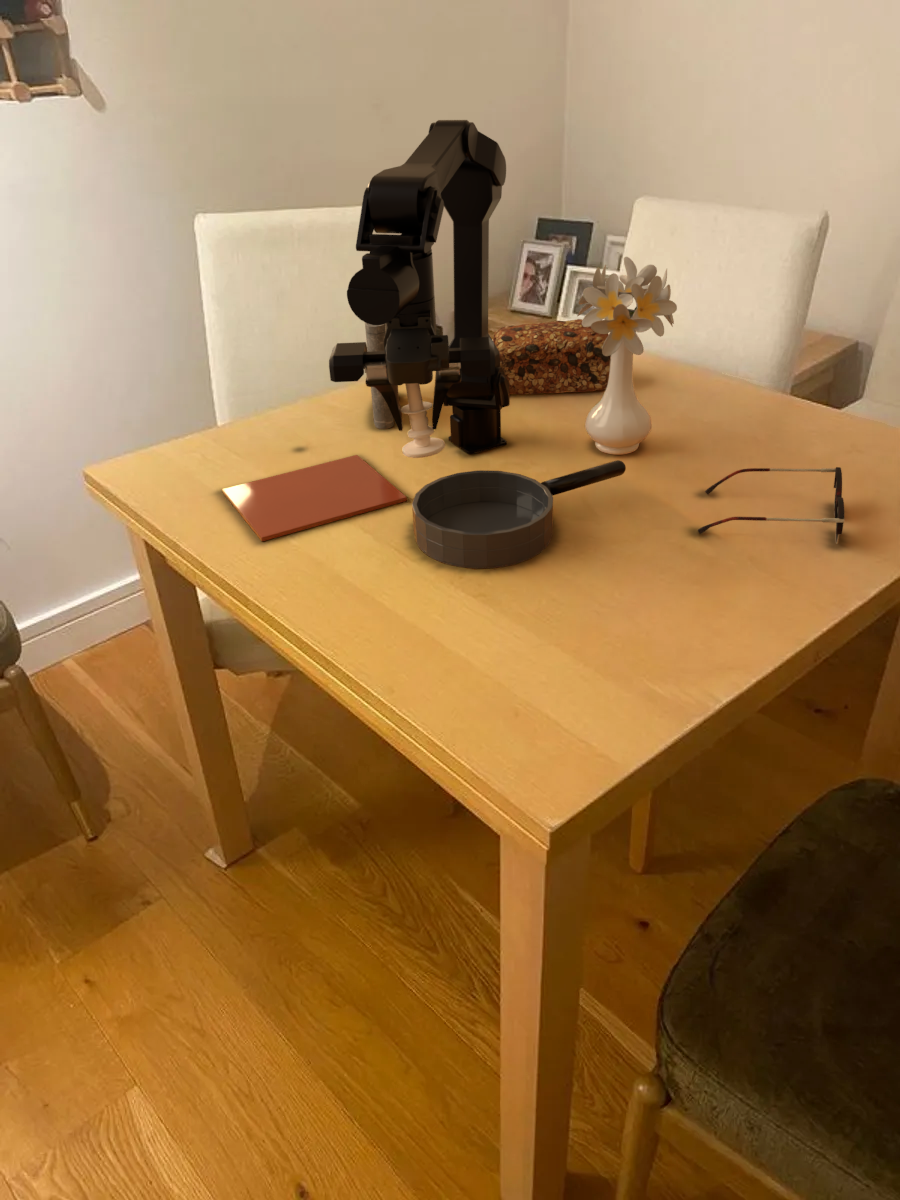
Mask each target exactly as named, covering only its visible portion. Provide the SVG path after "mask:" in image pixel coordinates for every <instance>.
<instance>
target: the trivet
mask: <svg viewBox="0 0 900 1200" xmlns="http://www.w3.org/2000/svg"><path fill="white" fill-rule="evenodd" d="M221 491H222V494H223V495H224V497H225V498H226V499H227V500H228V501H229V503H230V504H231V505H232V506H233V508H234V509H235V510H236V511H237V513H238V514H239V515H240V517H241V518H242V519H243V520H244V521H245V522H246V524H247V525H248V526H249V527H250V528H251V530H252V531H253V533H255V535H256V536H257V537H258V539H259V540H260V541H261V542H265V541H269V540H272V539H276V538H280V537H284V536H287V535H290V534H294V533H297V532H301V531H305V530H308V529H313V528H315V527H318V526H322V525H327V524H330V523H333V522H336V521H341V520H345V519H347V518H351V517H355V516H358V515H361V514H365V513H369V512H372V511H375V510H379V509H383V508H387V507H389V506H394V505H397V504H402V503H404V502H407V501H408V499H407V496H406V495H405V494H404V493H403V492H401V491H400V490H399V489H398V488H397V487H396V486H394V485H393V484H392V483H391V482H390V481H388V479H386V478H385V477H384V476H383V475H381V474H380V473H379V472H378V471H376V469H374V468H373V467H372V466H371V465H369V464H368V463H367V462H366V461H365V460H364V459H362V458H361V457H360V456H359V455H358V454H355V455H351V456H347V457H343V458H339V459H335V460H331V461H327V462H323V463H319V464H316V465H311V466H308V467H305V468H300V469H296V470H291V471H288V472H284V473H280V474H276V475H273V476H268V477H264V478H261V479H257V480H253V481H252V480H251V481H248V482H245V483H242V484H237V485H233V486H229V487H225V488H221Z"/></svg>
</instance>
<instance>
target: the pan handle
mask: <svg viewBox="0 0 900 1200" xmlns="http://www.w3.org/2000/svg"><path fill="white" fill-rule="evenodd" d="M626 471H627V467H626V463H624V462H623V461H622V460H619V459H617V460H614V461H610V462H606V463H603V464H600V465H596V466H592V467H589V468H585V469H582V470H578V471H574V472H572V473H568V474H565V475H561V476H558V477H555V478H551V479H547V480H544V481H541V482H540V483H541V484H543V485H544V486H546V487H547V488H548V490H549V491H550V493H551V494H552V496H553V497H554V496H556V495H560V494H563V493H567V492H570V491H573V490H576V489H580V488H583V487H587V486H590V485H593V484H597V483H600V482H604V481H607V480H610V479H613V478H617V477H620V476H622V475H624V474H625V473H626Z"/></svg>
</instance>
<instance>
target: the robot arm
mask: <svg viewBox="0 0 900 1200" xmlns="http://www.w3.org/2000/svg"><path fill="white" fill-rule="evenodd" d="M506 178H507V161H506V157H505V155H504V153H503V150H502V149H501V147H500V145H499V143H498V142H497V141H495V140H494V139H492V138H491V137H489V136H487V135H486V134H484V133H482V132H481V131H479V130H478V128H477V126H476V124H475V123H474V122H473V121H469V120H468V119H438V120H436V121H435V122H432V123H430V126H429V128H428V134H427V135H426V136H425V137H424V139H423V140H422V141H421V143H419V145H418V146H417V147H416V148H415V150H414V151H413V152H412V154H411V155H410V156H409V157H408V158H407V160H406V161H405V162H404V163H403V164H401V165H398V166H394V167H391V168H390V167H389V168H386V169H383V170H381V171H380V172H378V173H376V174H375V175H373V176H372V177H371V178H370V180H369V182H368V184H367V187H365V188H364V189H365V190H364V192H363V196H362V197H363V198H362V203H361V209H360V216H359V223H358V230H357V236H356V243H355V250H356V252H369V253H365V254H363V255H362V256H361V263H362V268H361V269H359V270H358V271H357V272H355V273H354V274H353V275H352V276H351V278H350V280H349V282H348V286H347V290H346V298H347V302H348V305H349V307H350V309H351V311H352V312H353V314H354V315H355V316H356V317H357V318H358V319H359V320H360V321H361V322H364V324H365V323H368V324H371V325H382V324H385V329H386V334H385V338H384V351H372V352H368V351H367V341H361V342H360V341H358V342H338V343H337V342H336V344H335V345H334V346H333V347H332V350H331V353H330V355H329V358H328V370H329V378H330V381H331V382H333V383H348V382H350V383H351V382H358V381H360V379H362V377H363V376H364V375H365V376H366V377H365V383H364V384H365V386H366V387H368V388H371V387H375V388H376V389H377V390H378V391H379V392H380V393H381V395H382V396H383V398H384V399H385V401H386V403H387V405H388V407H389V409H390V412H391V414H392V416H393V422H394V423H395V425H396V427H397V430H398V431H399V432H402V431H403V429H404V427H403V425H404V423H403V413H402V412H401V411H400V409H401V408H402V406H401V402H400V401H401V400H400V395H398V394H399V388H398V389H397V385H398V386H403V385H406V384H412V383H418V384H419V385H422V386H423V385H428V384H430V383H431V382H432V381H433V379H434V386H433V387H434V389H433V399H432V401H433V402H432V405H433V406H432V413H431V424H432V426H431V427H433V430H434V431H435V430H437V428H438V425H439V420H440V417H441V413H442V409H443V407H451V408H452V414H450V416H449V427H450V435H449V436H448V442H450V443H452V444H453V445H454V446H456V447H457V448H458V449H460V450H462V451H463V452H464V453H466V454H467V455H473V454H477V453H480V452H485V451H488V450H491V449H495V448H500V447H504V446H507V444H508V441H507V440H506V439H505V438H503V437H502V420H501V419H502V414H501V413H502V411H501V410H502V409H503V408H507V407H509V406H510V405H511V404H510V403H511V401H510V400H511V399H510V398H511V397H510V395H511V394H510V391H509V382H508V380H507V378H506V375H505V373H504V371H503V369H502V367H500V353H499V350H498V349H497V347H496V345H495V344H494V342H493V338H492V337H491V335H490V334H489V272H490V271H489V270H490V269H489V268H490V267H489V262H490V261H489V260H490V259H489V255H490V253H489V251H490V250H489V248H490V246H489V245H490V239H489V238H490V219H491V217H492V216H493V214H494V211H495V210H496V208H497V207H498V205H499V203H500V201H501V199H502V195H503V193H502V192H503V186H504V185H505V183H506ZM444 209H445V211H446V213H447V214H448V216H449V218H450V219H451V221H452V230H453V232H452V234H453V237H452V238H453V240H452V241H453V243H452V244H453V247H452V248H453V338H452V340H451V341H450V342H449V335H448V334H442V335H441V334H440V335H437V319H436V317H437V316H436V315H437V314H436V300H435V299H436V297H435V277H434V262H433V261H434V260H433V249H432V247H433V245H435V243H437V239H438V235H439V230H440V228H441V227H440V226H441V222H442V217H443V213H444ZM374 232H375V233H374ZM433 372H435V377H434V374H433Z"/></svg>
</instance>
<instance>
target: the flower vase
mask: <svg viewBox="0 0 900 1200" xmlns="http://www.w3.org/2000/svg"><path fill="white" fill-rule="evenodd" d="M623 265H624V268H625V272H626V274H620V275H619V276H618V274H617V273H615V272H613V273H611V274H610V275H609V276H608V277H606V276H607V275H606V273H607V264H605V265H604V267H603V269H602V272H601V268H600V267H599V266H598V267H597V268H596V270H595V271H594V274H593V277H592V286H587V287H585V288H584V289H583V291H582V295H581V296H580V298H579V300H578V305H583V306H582V307H581V309H580V310H579V311H578V313H577V315H576V317H579V316H580V315H582V314H583V313H584V312H586V311H588V310H589V309H590V308H592V307H595V308H592V309H591V310H590V311H588V312H587V313H586V314H585V315H584V317H583V318H582V325H583V327H589V326H591V329H592V330H593V331H595V332H597V333H600V334H609V335H608V337H607V338H606V340H605V342H604V344H603V347H602V354H603V355H605V356H610V355H611V361H610V372H609V379H608V384H607V388H606V389H604V393H603V395H602V396H601V399H600V400H599V401H598V402H596V404H595V405H593V407H592V408H591V409H590V410H589V411H588V413H587V415H586V417H585V421H584V429H585V431H586V433H587V435H588V436H589V438H590V439H591V440H592V441H594V446H595V448H596V449H597V450H599V451H600V452H602V453H605V454H608V455H627V454H631V453H633V452H635V451H637V450H638V448H639V447H640V443H641V442H644V440H645V439H646V438H647V437H648V436H649V434H650V433H651V431H652V427H653V426H652V425H653V424H652V418H651V415H650V413H649V412H648V409H647V408H646V407H645V406H644V405H643V404H642V403H641V402H640V400H639V398H638V397H637V393H636V391H635V386H634V375H633V374H634V355H635V356H640V355H642V354H643V353H644V349H645V348H644V345H643V342H642V340H641V339H640V337H639V335H638V333H644V332H645V333H646V332H647V331H649V330H650V329H651V330H652V331H653V333H654V334H655V335H656V336H658V337H663V336H664V334H665V326H664V323H663V320H662V319H661V318H660V316H661V317H664V318H665V319H666V321H667V322H668V324H670V325H671V327H672V328H674V324H675V319H674V315H673V314H674V313H676V311H677V310H678V305H677V304H676V302H675V301H673V300H671V293H672V289H671V285H670V284H669V283H668V284H667V279H668V268H666V269H665V272H664V274H663V276H662V277H661V276H659V275H657V273H658V269H657V267H656V265H655V264H647V265H645V266H643V267H642V268H641V269H640V270H639V272H638V268H637V266H636V264H635V263H634V261H633V260H632V259H631V258H630V257H629V256H624V257H623ZM634 301H635V305H636V306H635V307H634V308H633V309H632V308H629V307H630V306H631V305H632V303H633V302H634Z"/></svg>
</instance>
